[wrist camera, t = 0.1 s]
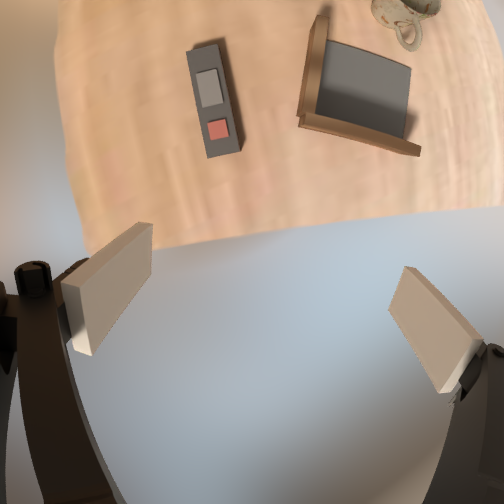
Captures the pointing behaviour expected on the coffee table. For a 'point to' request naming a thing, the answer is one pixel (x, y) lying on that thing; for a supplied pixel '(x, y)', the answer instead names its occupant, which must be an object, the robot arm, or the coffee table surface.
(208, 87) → the remote
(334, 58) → the mat
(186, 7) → the coffee table surface
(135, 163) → the coffee table surface
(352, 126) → the brown corner wall
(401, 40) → the mug
